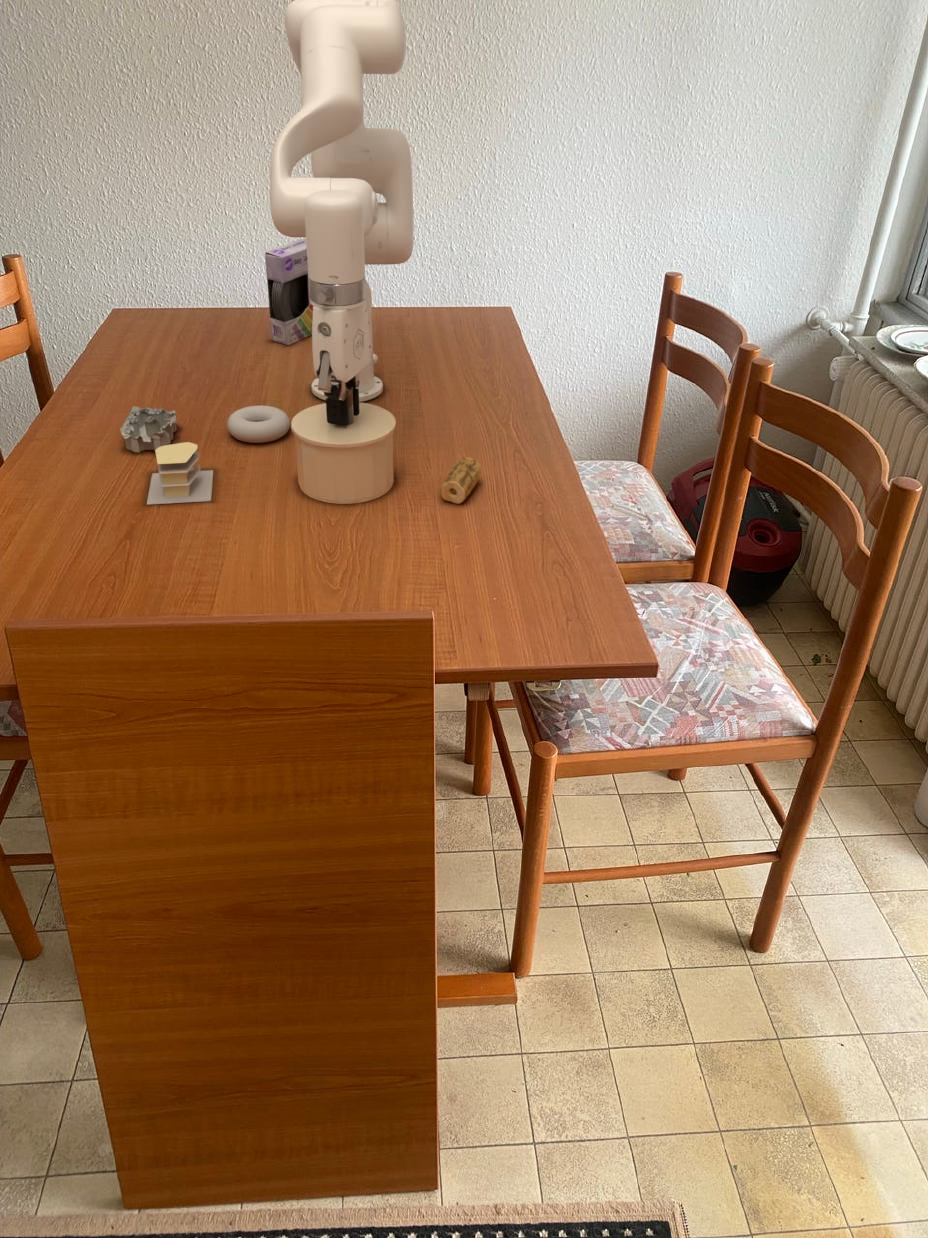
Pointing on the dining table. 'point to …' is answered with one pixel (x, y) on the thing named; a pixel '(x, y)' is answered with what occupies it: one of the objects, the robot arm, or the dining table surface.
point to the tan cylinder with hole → (460, 480)
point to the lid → (358, 432)
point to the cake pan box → (289, 292)
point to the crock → (345, 471)
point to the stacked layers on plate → (179, 476)
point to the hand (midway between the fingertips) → (343, 417)
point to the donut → (258, 424)
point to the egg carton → (148, 428)
